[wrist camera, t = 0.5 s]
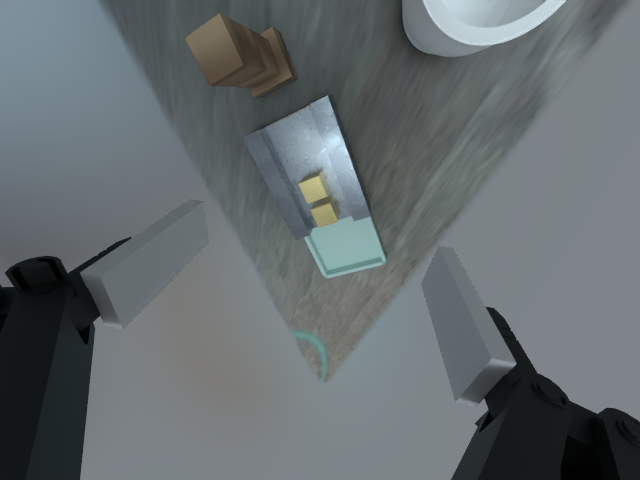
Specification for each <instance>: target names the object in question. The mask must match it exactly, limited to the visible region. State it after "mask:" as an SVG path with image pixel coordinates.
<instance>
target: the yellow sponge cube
mask: <svg viewBox="0 0 640 480" xmlns="http://www.w3.org/2000/svg"><path fill="white" fill-rule="evenodd" d="M311 212H312V215H313V217H314V219H315V221H316V223H317V225H318V227H319V228H321V227H324V226H327V225H330V224H333V223H336V222H338V220H339V215H340V213H339V210H338V208H337V205H336V203H335V201H334V198H333V196H330V197H327V198H324V199H321V200H319V201H316V202H314V203H313V205H312V208H311Z"/></svg>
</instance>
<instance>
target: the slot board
mask: <svg viewBox="0 0 640 480" xmlns="http://www.w3.org/2000/svg"><path fill="white" fill-rule="evenodd" d="M243 140H244V142H245V144H246V146H247V148H248V150H249V152H250V153H251V155H252V157H253V159H254V161H255V163H256V165H257V167H258V169H259V171H260V173H261V174H262V176H263V178H264V180H265V182H266V184H267V186H268V188H269V190H270V192H271V194H272V195H273V197H274V199H275V201H276V203H277V205H278V207H279V209H280V211H281V213H282V215H283V216H284V218H285V220H286V222H287V224H288V226H289V228H290V230H291V232H292V234H293V236H294V237H295V239H296V240H297V239H300V238H303V237H306V236H310V234H311V232H312V229H313V228H316V227H318V225H317V223H316V221H315V219H314V217H313V215H312V212H311V208H312V205H313V203H314V202H316V201H314V202H311V203H308V204H307V202H306V200H305V197H304V195H303V193H302V191H301V189H300V187H299V185H298V184H299V182H300V181H301V180H302V178H303V177H306V176H308V175H311V174H313V173H316V172H318V171H321V170H322V172H323V174H324V177H325V179H326V181H327V184H328V186H329V189H330V190H329V193H328V196H327V197H330V196H333V198H334V201H335V203H336V205H337V208H338V210H339V213H340V215H339V220H340V219H344V218H347V217H350V216H352V218H353V220H354V221H358V220H361V219H364V218H367V217H370V216H371V207H370V202H369V199H368V196H367V194H366V191H365V188H364V185H363V182H362V179H361V177H360V174H359V171H358V168H357V165H356V163H355V160H354V157H353V154H352V151H351V148H350V146H349V143H348V140H347V137H346V134H345V131H344V129H343V126H342V123H341V120H340V117H339V114H338V112H337V109H336V106H335V103H334V100H333V97H332V95H327V96H325V97H323V98H321V99H319V100H317V101H315V102H313V103H311V104H309V105H308V106H307V107H305V108H303V109H301V110H299V111H297V112H295V113H293V114H291V115H289V116H287V117H285V118H283V119H281V120H279V121H277V122H275V123H273V124H271V125H269V126H267V127H265V128H262V129H259V130H257V131H255V132H253V133H251V134H249V135H247V136H245V137H243ZM327 197H325V198H327ZM322 199H324V198H322ZM319 200H321V199H319ZM319 200H317V201H319Z"/></svg>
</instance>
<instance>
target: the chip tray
mask: <svg viewBox="0 0 640 480" xmlns="http://www.w3.org/2000/svg"><path fill="white" fill-rule="evenodd" d="M304 239H305V241H306V243H307V245H308V247H309V249H310V251H311V253H312V255H313V256H314V258H315V260H316V262H317V264H318V266H319V268H320V270H321V272H322V274H323V276H324V278H325V279H327V278H331V277H335V276H339V275H343V274H347V273H351V272H356V271H360V270H364V269H368V268H372V267H376V266H380V265H384V264H387V258H386V255H385V252H384V249H383V246H382V243H381V241H380V238H379V235H378V232H377V230H376V227H375V224H374V221H373V218H372V216H370V217H367V218H364V219H361V220H358V221H354V220H353V218H352V216H350V217H347V218H344V219H340V220H338V222H336V223H333V224H330V225H327V226H324V227H321V228H319V227H316V228H313V229H312V232H311V234H310V236H306V237H304Z"/></svg>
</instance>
